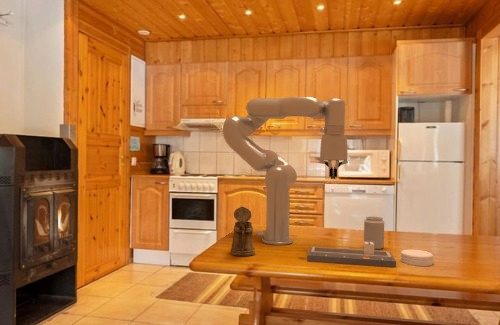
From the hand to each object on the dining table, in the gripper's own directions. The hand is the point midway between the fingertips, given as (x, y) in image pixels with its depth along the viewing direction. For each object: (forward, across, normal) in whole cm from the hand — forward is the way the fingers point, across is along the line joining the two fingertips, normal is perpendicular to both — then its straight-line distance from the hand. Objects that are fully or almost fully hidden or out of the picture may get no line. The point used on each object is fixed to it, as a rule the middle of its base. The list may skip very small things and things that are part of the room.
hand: (333, 178), depth 146 cm
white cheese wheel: (+27, +28, -12) cm, 41 cm away
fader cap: (+25, +13, -15) cm, 32 cm away
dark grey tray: (+27, +7, -16) cm, 32 cm away
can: (+27, +16, +6) cm, 32 cm away
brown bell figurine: (+27, -30, -20) cm, 46 cm away
